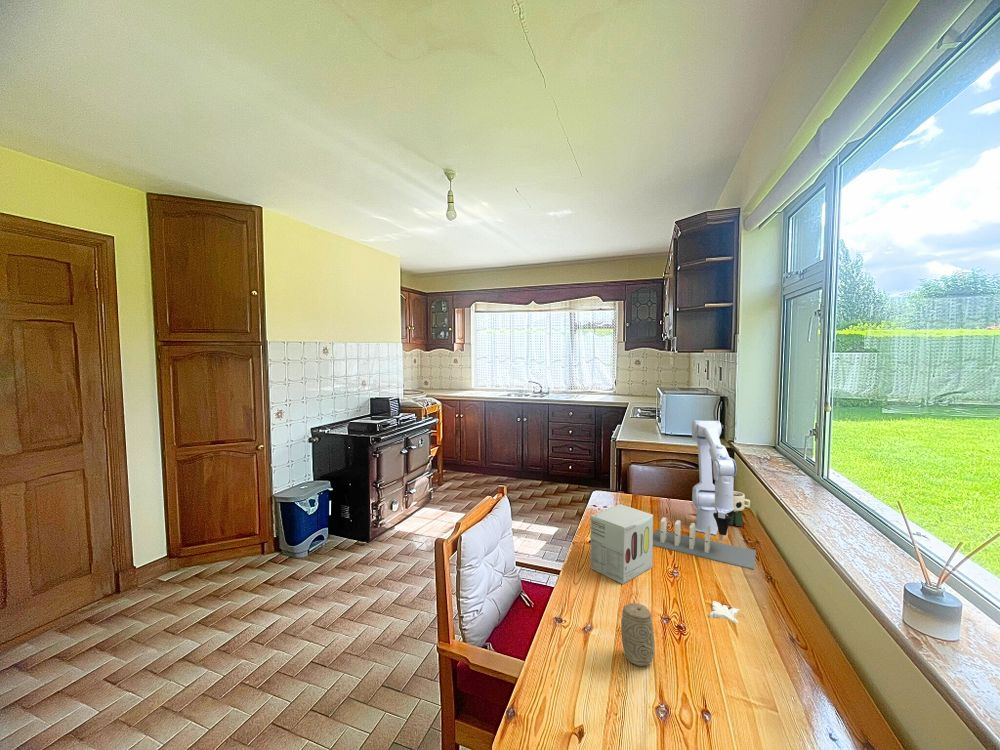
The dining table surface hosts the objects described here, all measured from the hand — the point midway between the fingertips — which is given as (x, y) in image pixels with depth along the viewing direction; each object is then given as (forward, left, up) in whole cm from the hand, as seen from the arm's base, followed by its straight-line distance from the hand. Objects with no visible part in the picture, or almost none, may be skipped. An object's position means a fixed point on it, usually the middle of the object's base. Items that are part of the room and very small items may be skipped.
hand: (723, 531), depth 145 cm
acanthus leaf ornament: (+37, +4, -9) cm, 38 cm away
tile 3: (0, -10, -8) cm, 13 cm away
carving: (+67, -11, -8) cm, 68 cm away
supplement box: (+28, -27, -9) cm, 40 cm away
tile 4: (0, -5, -8) cm, 9 cm away
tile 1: (0, -20, -8) cm, 22 cm away
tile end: (0, 0, -2) cm, 2 cm away
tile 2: (0, -15, -8) cm, 17 cm away
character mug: (-32, +1, -8) cm, 33 cm away
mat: (-2, -8, -8) cm, 11 cm away
